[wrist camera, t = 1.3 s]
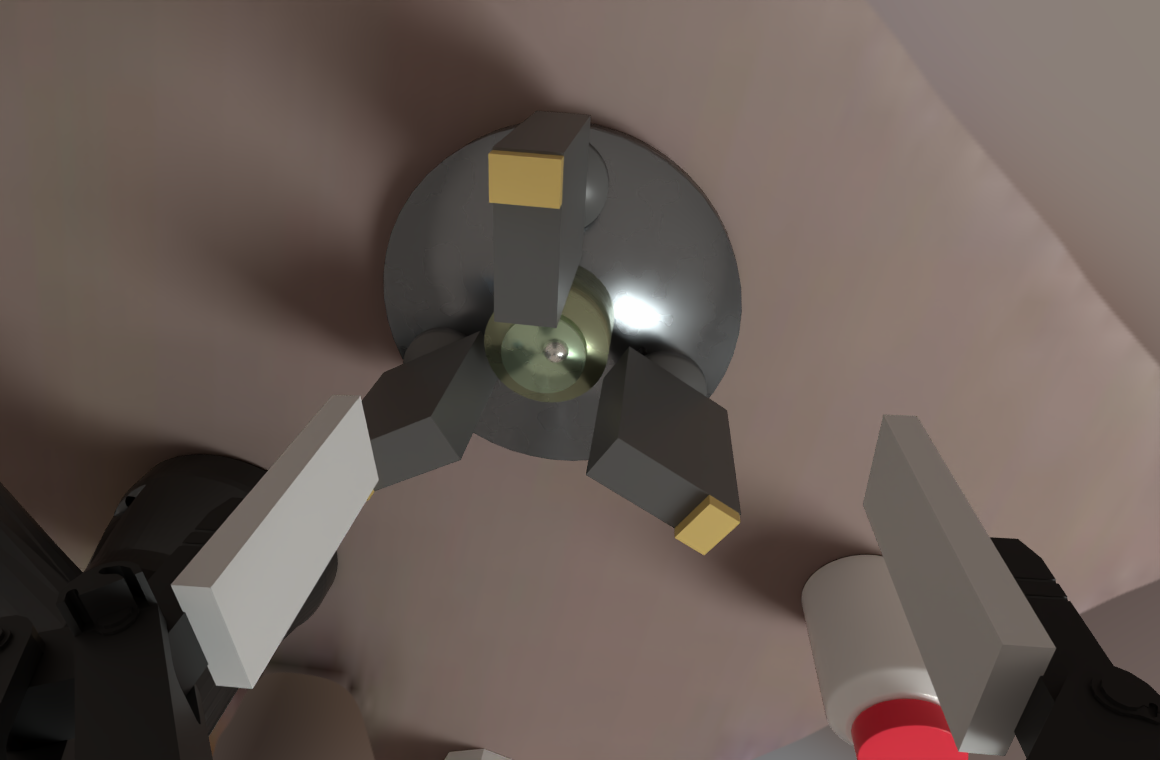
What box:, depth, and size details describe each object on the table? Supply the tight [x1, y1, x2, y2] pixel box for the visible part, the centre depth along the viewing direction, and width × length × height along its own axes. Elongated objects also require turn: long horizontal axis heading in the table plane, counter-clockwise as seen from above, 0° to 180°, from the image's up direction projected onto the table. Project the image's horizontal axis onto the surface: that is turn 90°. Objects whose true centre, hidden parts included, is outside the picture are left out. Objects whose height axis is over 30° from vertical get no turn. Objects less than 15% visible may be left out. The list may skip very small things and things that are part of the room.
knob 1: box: [362, 327, 498, 501], centre depth 33 cm, size 6×4×10 cm
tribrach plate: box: [383, 124, 742, 461], centre depth 34 cm, size 19×19×7 cm
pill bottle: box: [801, 555, 968, 760], centre depth 40 cm, size 8×8×11 cm
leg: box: [488, 111, 609, 328], centre depth 27 cm, size 6×4×10 cm
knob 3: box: [586, 346, 741, 555], centre depth 32 cm, size 6×4×10 cm
